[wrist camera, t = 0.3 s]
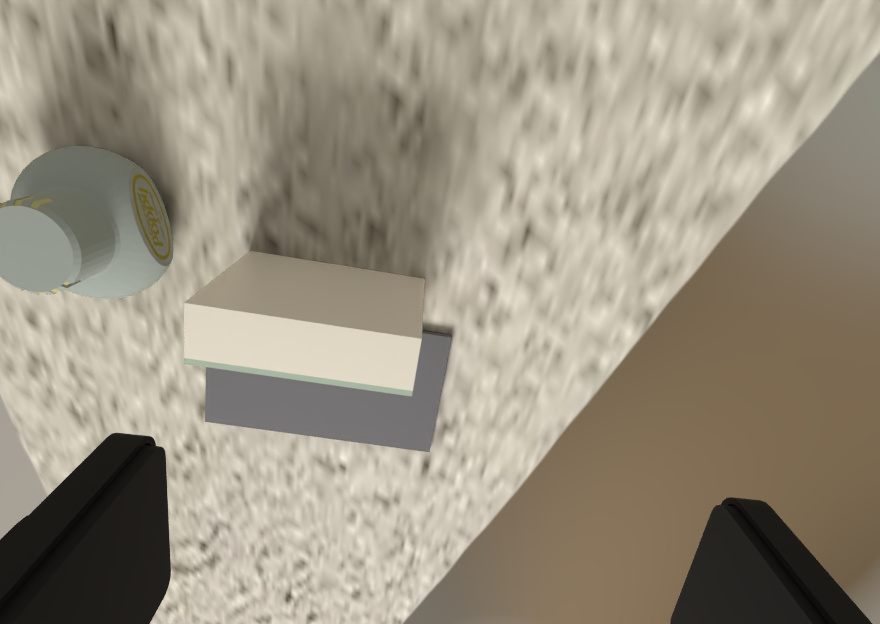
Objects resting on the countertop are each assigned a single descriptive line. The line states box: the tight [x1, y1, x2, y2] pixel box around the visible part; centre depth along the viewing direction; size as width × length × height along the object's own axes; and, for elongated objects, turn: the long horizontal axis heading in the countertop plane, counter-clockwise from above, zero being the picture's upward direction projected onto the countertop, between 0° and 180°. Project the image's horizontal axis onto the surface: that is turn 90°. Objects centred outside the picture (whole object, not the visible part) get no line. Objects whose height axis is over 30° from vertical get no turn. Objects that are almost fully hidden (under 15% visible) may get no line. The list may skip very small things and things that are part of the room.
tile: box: [184, 251, 425, 396], centre depth 38 cm, size 4×14×12 cm, turn 80°
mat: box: [205, 330, 452, 452], centre depth 46 cm, size 12×20×1 cm, turn 80°
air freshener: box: [0, 146, 173, 299], centre depth 37 cm, size 11×8×10 cm
